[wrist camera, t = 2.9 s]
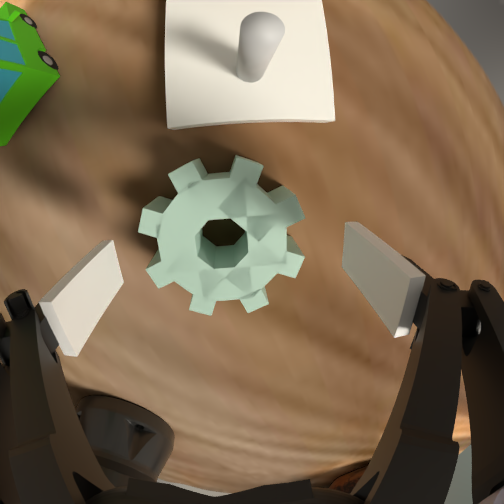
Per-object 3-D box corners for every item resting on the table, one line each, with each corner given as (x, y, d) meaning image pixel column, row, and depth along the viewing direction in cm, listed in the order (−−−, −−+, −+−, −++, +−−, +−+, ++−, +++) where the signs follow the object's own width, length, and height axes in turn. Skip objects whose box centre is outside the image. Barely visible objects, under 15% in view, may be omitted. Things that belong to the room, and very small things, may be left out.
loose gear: (168, 290, 22) (158, 318, 18) (147, 164, 18) (128, 170, 14) (291, 281, 22) (303, 307, 19) (289, 152, 19) (304, 154, 15)
